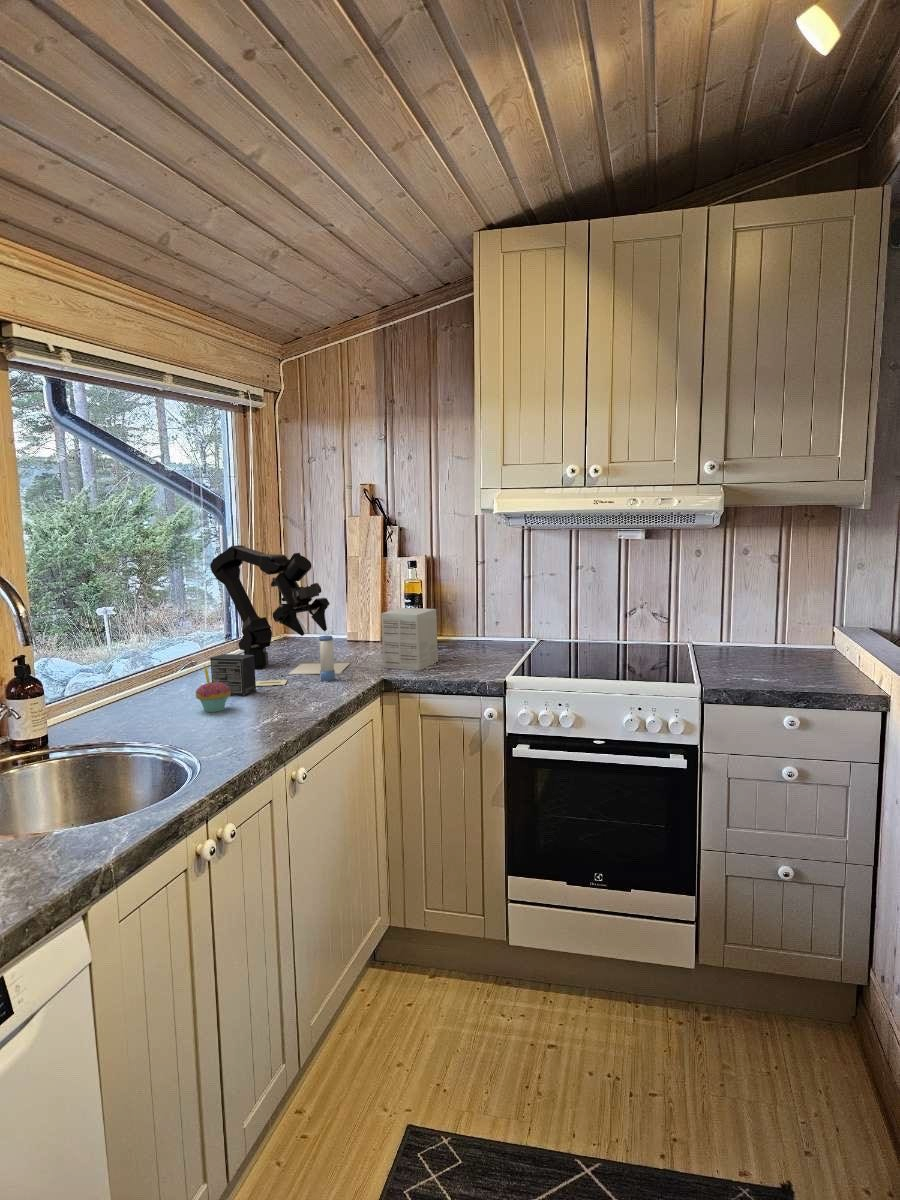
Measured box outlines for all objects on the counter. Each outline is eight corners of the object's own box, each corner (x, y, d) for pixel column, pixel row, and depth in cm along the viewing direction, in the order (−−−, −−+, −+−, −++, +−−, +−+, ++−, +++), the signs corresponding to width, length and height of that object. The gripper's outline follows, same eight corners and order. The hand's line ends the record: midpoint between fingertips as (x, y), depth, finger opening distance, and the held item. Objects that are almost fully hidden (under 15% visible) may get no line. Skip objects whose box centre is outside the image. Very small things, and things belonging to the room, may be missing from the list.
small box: (257, 691, 218) (255, 654, 216) (244, 696, 212) (242, 658, 210) (225, 689, 221) (223, 652, 220) (211, 694, 215) (208, 657, 214)
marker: (319, 682, 227) (316, 638, 225) (322, 678, 231) (320, 635, 229) (333, 681, 226) (331, 637, 225) (336, 678, 230) (334, 635, 229)
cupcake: (212, 715, 193) (209, 668, 191) (189, 711, 197) (186, 665, 196) (238, 707, 200) (235, 661, 198) (215, 704, 204) (212, 659, 203)
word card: (252, 687, 222) (252, 685, 222) (255, 682, 228) (255, 680, 228) (285, 685, 223) (284, 684, 223) (287, 681, 229) (287, 679, 229)
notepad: (288, 674, 237) (288, 673, 237) (302, 664, 253) (302, 662, 253) (340, 674, 236) (340, 672, 236) (350, 663, 252) (350, 661, 252)
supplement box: (402, 660, 255) (400, 607, 253) (438, 662, 250) (437, 608, 248) (382, 668, 244) (380, 612, 241) (419, 671, 238) (417, 614, 236)
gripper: (280, 577, 225) (305, 622, 221) (326, 571, 240) (351, 613, 235) (261, 599, 231) (285, 643, 227) (307, 592, 246) (331, 633, 241)
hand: (314, 632), depth 232 cm, fingers open, 9 cm apart
